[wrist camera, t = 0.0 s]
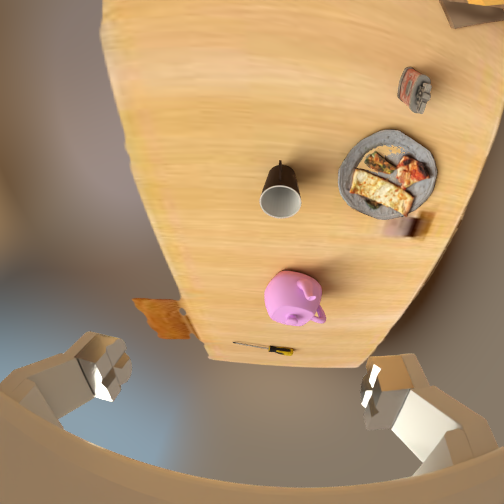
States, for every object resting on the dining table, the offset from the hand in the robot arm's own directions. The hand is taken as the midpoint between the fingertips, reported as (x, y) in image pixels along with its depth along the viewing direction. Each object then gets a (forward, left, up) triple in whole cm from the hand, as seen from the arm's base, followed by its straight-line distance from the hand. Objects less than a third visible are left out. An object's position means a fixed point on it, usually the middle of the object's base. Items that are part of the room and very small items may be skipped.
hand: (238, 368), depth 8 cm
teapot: (+61, -31, -55) cm, 88 cm away
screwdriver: (+101, -68, -55) cm, 134 cm away
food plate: (+35, +9, -55) cm, 66 cm away
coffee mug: (+23, -13, -55) cm, 61 cm away
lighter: (+15, +21, -55) cm, 60 cm away
